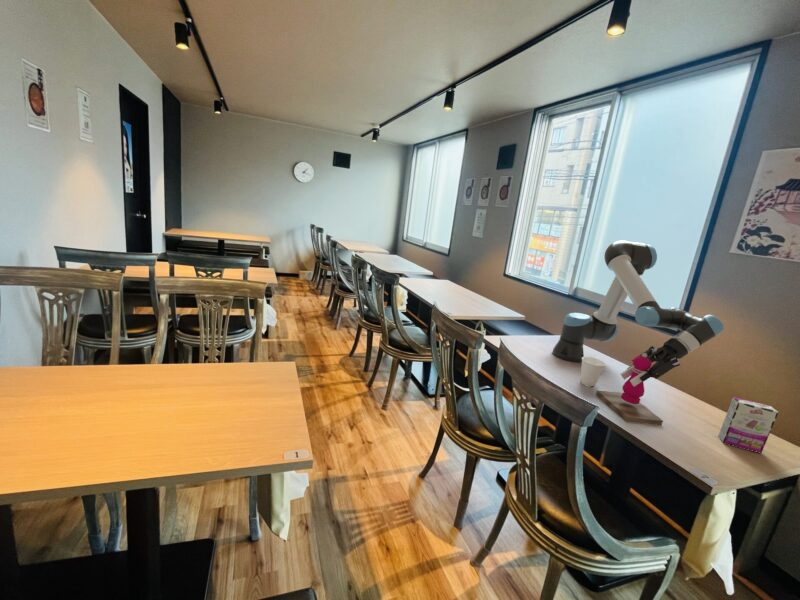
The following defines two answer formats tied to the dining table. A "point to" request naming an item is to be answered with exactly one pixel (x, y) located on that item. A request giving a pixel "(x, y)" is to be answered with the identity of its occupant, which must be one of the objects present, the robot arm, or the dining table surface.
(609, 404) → the serving board
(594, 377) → the cup
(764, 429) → the candy bar box
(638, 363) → the pepper mill
